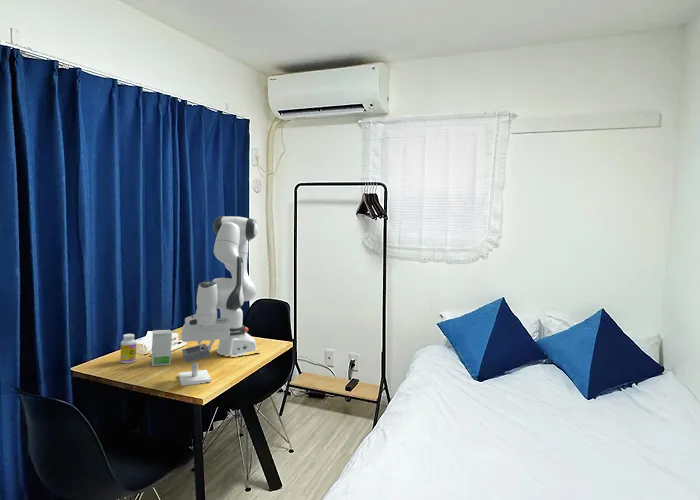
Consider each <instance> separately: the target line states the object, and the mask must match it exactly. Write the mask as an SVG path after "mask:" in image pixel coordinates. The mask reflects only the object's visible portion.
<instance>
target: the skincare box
mask: <svg viewBox="0 0 700 500" xmlns="http://www.w3.org/2000/svg"><path fill="white" fill-rule="evenodd" d="M172 334H173V333H172V330H171V329H158V330H157V329H156V330H152V341H151V343H152V344H151V366H152V367H157V366H159V367H160V366H170V365H171V357H172Z"/></svg>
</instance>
